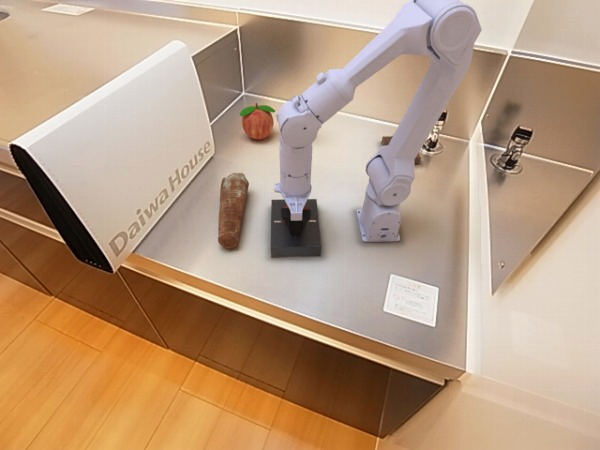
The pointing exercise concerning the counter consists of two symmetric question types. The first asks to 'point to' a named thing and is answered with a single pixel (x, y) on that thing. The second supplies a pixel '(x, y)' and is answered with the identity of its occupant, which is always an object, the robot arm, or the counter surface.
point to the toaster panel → (295, 244)
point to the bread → (231, 208)
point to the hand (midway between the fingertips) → (295, 220)
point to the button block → (387, 140)
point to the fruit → (257, 121)
